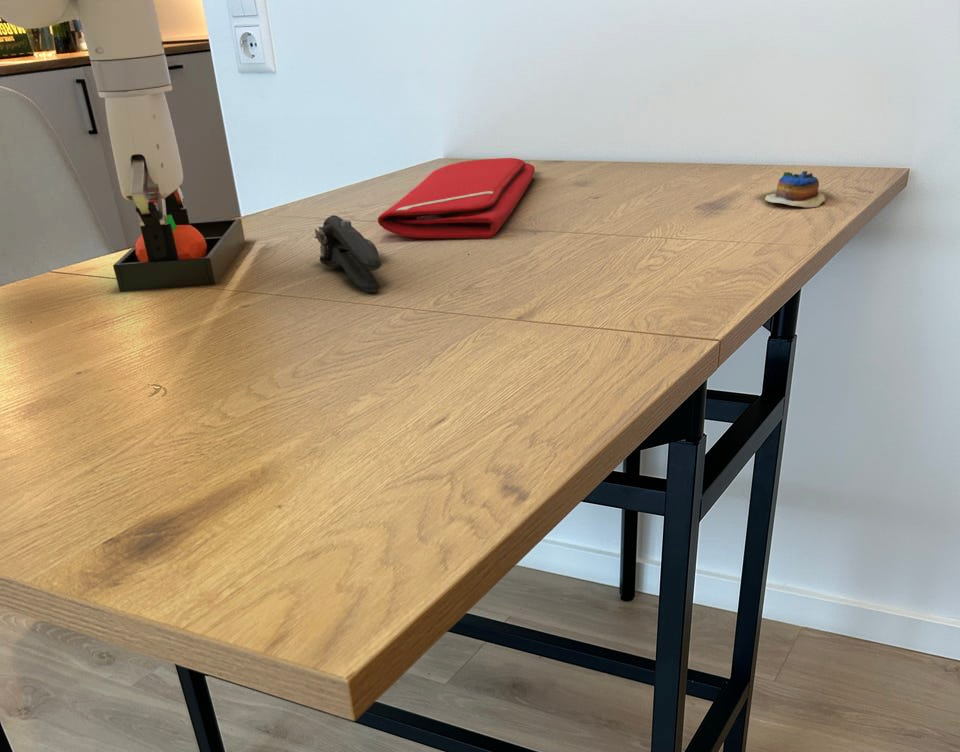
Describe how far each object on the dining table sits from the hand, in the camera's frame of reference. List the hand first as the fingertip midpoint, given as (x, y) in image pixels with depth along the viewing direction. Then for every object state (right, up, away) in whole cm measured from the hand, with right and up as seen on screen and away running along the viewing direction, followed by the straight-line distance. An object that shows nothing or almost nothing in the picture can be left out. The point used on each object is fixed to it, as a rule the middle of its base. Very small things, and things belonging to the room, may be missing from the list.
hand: (172, 253), depth 114 cm
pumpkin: (0, -2, +1) cm, 3 cm away
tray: (0, 0, +6) cm, 6 cm away
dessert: (+76, +12, +15) cm, 78 cm away
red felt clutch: (+33, +17, +27) cm, 46 cm away
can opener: (+21, -3, -2) cm, 22 cm away
